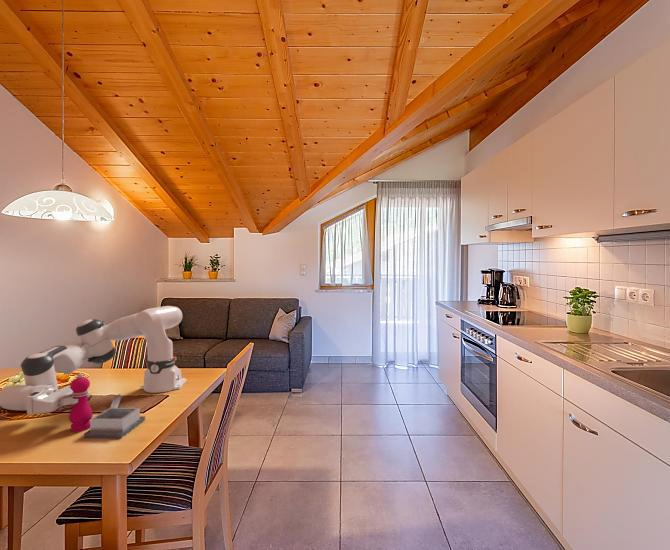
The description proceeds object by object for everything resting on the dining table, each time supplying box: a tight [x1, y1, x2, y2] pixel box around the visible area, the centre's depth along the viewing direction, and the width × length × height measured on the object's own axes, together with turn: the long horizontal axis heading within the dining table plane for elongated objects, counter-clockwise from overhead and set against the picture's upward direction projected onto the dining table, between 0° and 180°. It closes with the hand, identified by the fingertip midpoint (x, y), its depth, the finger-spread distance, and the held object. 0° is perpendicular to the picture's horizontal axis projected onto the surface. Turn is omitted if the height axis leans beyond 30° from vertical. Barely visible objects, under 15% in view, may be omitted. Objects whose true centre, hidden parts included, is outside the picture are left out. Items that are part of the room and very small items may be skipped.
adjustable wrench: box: [109, 394, 122, 408], centre depth 165 cm, size 25×6×2 cm, turn 17°
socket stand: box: [83, 407, 146, 439], centre depth 146 cm, size 16×13×6 cm
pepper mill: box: [68, 373, 93, 432], centre depth 147 cm, size 7×7×20 cm
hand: (82, 398), depth 147 cm, fingers closed on pepper mill, 5 cm apart
